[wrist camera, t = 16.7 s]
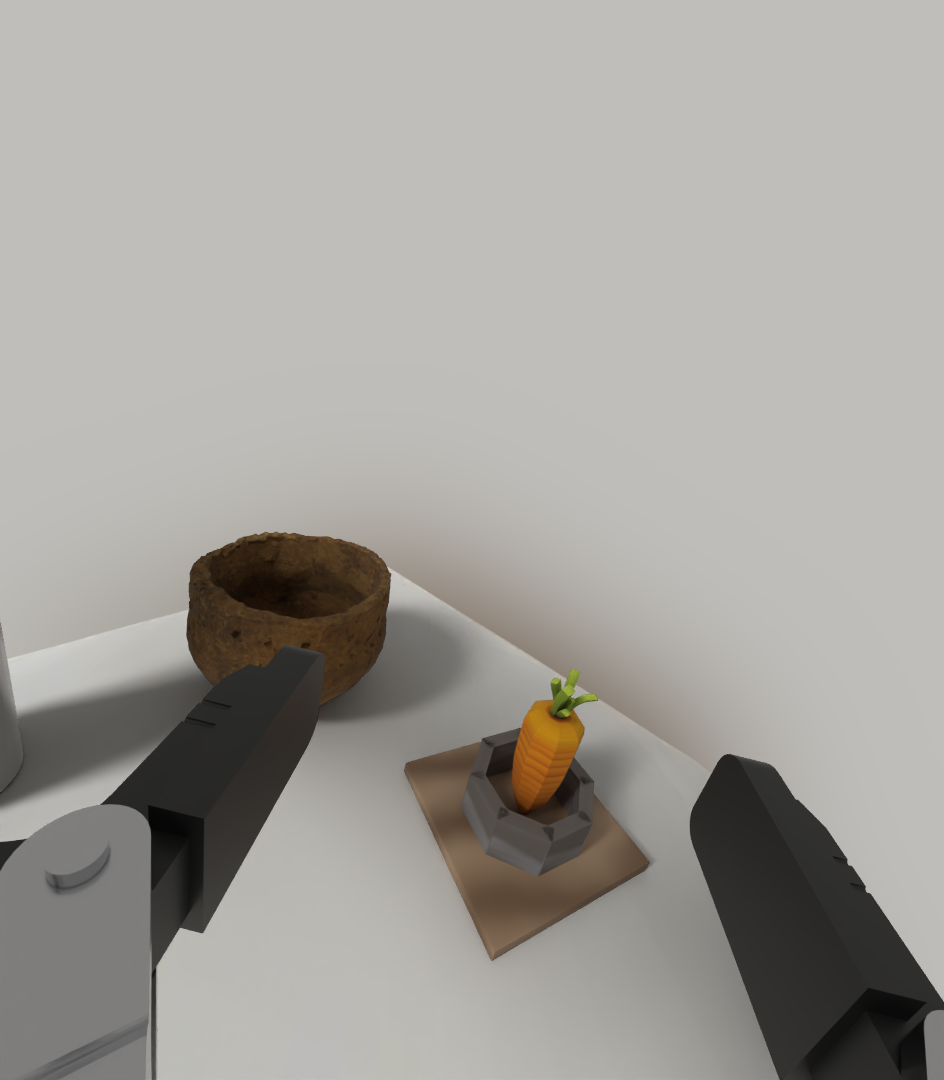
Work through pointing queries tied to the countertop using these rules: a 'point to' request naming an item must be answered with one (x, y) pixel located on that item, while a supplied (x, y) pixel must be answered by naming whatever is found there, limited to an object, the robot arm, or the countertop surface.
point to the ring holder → (519, 841)
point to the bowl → (288, 606)
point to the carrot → (547, 745)
